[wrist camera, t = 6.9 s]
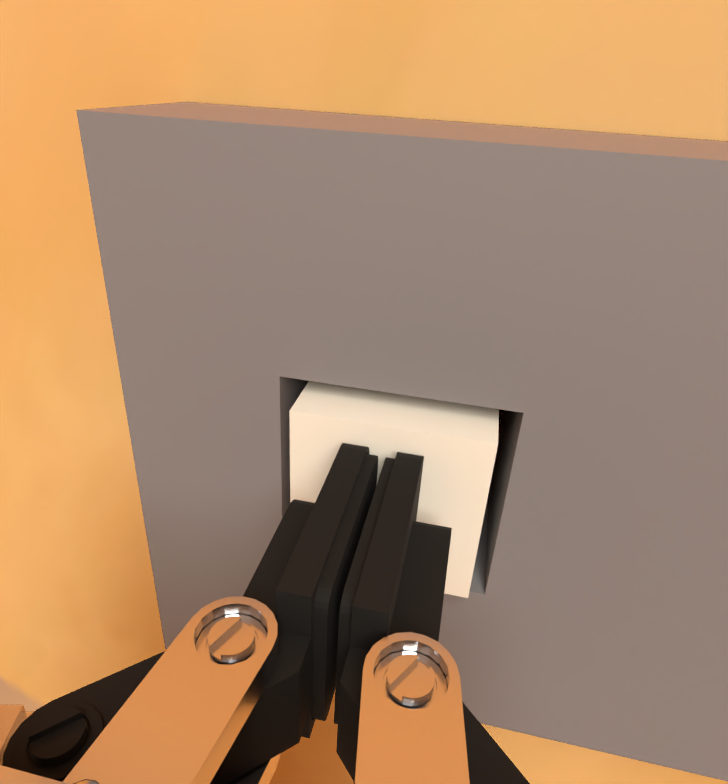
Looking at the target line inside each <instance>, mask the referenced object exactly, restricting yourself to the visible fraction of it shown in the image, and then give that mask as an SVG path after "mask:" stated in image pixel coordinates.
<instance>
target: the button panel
mask: <svg viewBox="0 0 728 784" xmlns="http://www.w3.org/2000/svg"><path fill="white" fill-rule="evenodd" d="M77 116H78V122H79V129H80V135H81V141H82V147H83V153H84V159H85V165H86V171H87V177H88V183H89V189H90V195H91V201H92V207H93V213H94V219H95V225H96V231H97V237H98V243H99V250H100V256H101V262H102V268H103V274H104V280H105V286H106V292H107V298H108V304H109V310H110V316H111V322H112V328H113V334H114V340H115V346H116V352H117V358H118V365H119V371H120V377H121V383H122V389H123V395H124V401H125V407H126V413H127V419H128V425H129V431H130V437H131V443H132V449H133V455H134V461H135V467H136V473H137V479H138V486H139V492H140V498H141V504H142V510H143V516H144V522H145V528H146V534H147V540H148V546H149V552H150V558H151V564H152V570H153V576H154V582H155V588H156V594H157V600H158V607H159V613H160V619H161V625H162V631H163V637H164V643H165V649H168V647H169V646H170V645H171V644H172V642H173V641H174V640H175V639H176V637H177V636H178V635H179V633H180V632H181V631H182V630H183V628H184V627H185V626H186V625H187V623H188V622H189V621H190V619H191V618H192V617H193V616H194V615H195V614H196V613H197V612H198V611H199V610H200V609H201V608H203V607H205V606H206V605H208V604H210V603H212V602H213V601H216V600H219V599H223V598H226V597H237V596H243V595H244V593H245V591H246V589H247V587H248V585H249V583H250V581H251V579H252V577H253V575H254V573H255V571H256V569H257V567H258V565H259V563H260V561H261V559H262V557H263V555H264V553H265V551H266V549H267V547H268V545H269V543H270V541H271V539H272V537H273V535H274V534H275V532H276V530H277V528H278V526H279V524H280V522H281V520H282V518H283V516H284V514H285V512H286V510H287V508H288V506H289V504H290V414H289V411H290V409H291V408H292V406H293V405H294V403H295V402H296V400H297V399H298V397H299V395H300V394H301V392H302V391H303V389H304V388H305V386H306V385H307V383H308V382H309V381H314V382H320V383H327V384H334V385H340V386H347V387H354V388H361V389H367V390H374V391H381V392H387V393H394V394H401V395H407V396H414V397H421V398H427V399H434V400H441V401H447V402H454V403H461V404H467V405H474V406H481V407H487V408H494V409H501V410H505V411H504V417H503V422H502V427H501V432H500V437H499V442H498V447H497V452H496V458H495V463H494V468H493V473H492V478H491V483H490V488H489V493H488V498H487V504H486V509H485V514H484V519H483V524H482V529H481V534H480V539H479V545H478V550H477V555H476V560H475V565H474V570H473V575H472V580H471V585H470V591H469V596H468V598H465V597H460V596H455V595H450V594H445V593H444V599H443V607H442V616H441V624H440V632H439V641H438V642H439V643H440V644H441V645H442V646H443V647H444V648H445V649H447V650H448V651H449V653H450V654H451V656H452V657H453V659H454V660H455V662H456V664H457V667H458V671H459V675H460V682H461V693H462V702H463V703H464V704H465V705H466V707H467V708H468V709H469V710H470V711H471V713H472V714H473V715H474V716H475V718H476V719H477V720H478V721H479V722H480V723H482V724H486V725H491V726H495V727H499V728H503V729H508V730H512V731H516V732H520V733H525V734H529V735H533V736H537V737H542V738H546V739H550V740H554V741H559V742H563V743H567V744H571V745H576V746H580V747H584V748H588V749H593V750H597V751H601V752H605V753H610V754H614V755H618V756H622V757H627V758H631V759H635V760H639V761H644V762H648V763H652V764H656V765H661V766H665V767H669V768H673V769H678V770H682V771H686V772H690V773H695V774H699V775H703V776H707V777H712V778H716V779H720V780H724V781H728V141H714V140H701V139H687V138H673V137H660V136H646V135H632V134H619V133H605V132H591V131H578V130H564V129H550V128H537V127H523V126H509V125H496V124H482V123H468V122H455V121H441V120H427V119H414V118H400V117H386V116H372V115H359V114H345V113H331V112H318V111H304V110H290V109H277V108H263V107H249V106H236V105H222V104H208V103H195V102H177V103H164V104H151V105H137V106H124V107H111V108H97V109H84V110H77ZM335 689H336V687H335Z"/></svg>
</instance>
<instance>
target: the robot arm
mask: <svg viewBox="0 0 728 784" xmlns="http://www.w3.org/2000/svg"><path fill="white" fill-rule="evenodd" d="M369 453H370V451H369V447H365V446H359V445H353V444H347V443H342V444H341V446H340V448H339V450H338V453H337V455H336V457H335V459H334V462H333V464H332V466H331V468H330V471H329V473H328V475H327V477H326V479H325V482H324V484H323V486H322V488H321V491H320V493H319V495H318V497H317V500H316V502H315V503H313V502H307V501H302V500H296V499H294V500H292V501H291V503H290V504H289V506H288V508H287V510H286V512H285V514H284V516H283V518H282V520H281V522H280V524H279V526H278V528H277V530H276V532H275V534H274V535H273V537H272V539H271V541H270V543H269V545H268V547H267V549H266V551H265V553H264V555H263V557H262V559H261V561H260V563H259V565H258V567H257V569H256V571H255V573H254V575H253V577H252V579H251V581H250V583H249V585H248V587H247V589H246V591H245V593H244V595H243V596H237V597H226V598H223V599H219V600H216V601H213V602H212V603H210V604H208V605H206V606H205V607H203V608H201V609H200V610H199V611H198V612H197V613H196V614H195V615H194V616H193V617H192V618H191V619H190V621H189V622H188V623H187V625H186V626H185V627H184V628H183V630H182V631H181V632H180V633H179V635H178V636H177V637H176V639H175V640H174V641H173V642H172V644H171V645H170V646H169V647H168V649H167V650H166V651H164V652H162V653H160V654H157V655H155V656H153V657H151V658H148V659H146V660H144V661H142V662H139V663H137V664H135V665H133V666H130V667H128V668H126V669H123V670H121V671H119V672H117V673H114V674H112V675H110V676H108V677H105V678H103V679H101V680H99V681H96V682H94V683H92V684H89V685H87V686H85V687H83V688H80V689H78V690H76V691H74V692H71V693H69V694H67V695H64V696H62V697H60V698H58V699H55V700H53V701H51V702H49V703H48V704H46V705H44V706H42V707H41V708H39V709H37V710H36V711H30V712H29V711H27V712H26V711H25V709H24V706H23V705H0V784H269V783H270V781H271V779H272V777H273V775H274V772H275V770H276V768H277V765H278V762H279V759H280V756H281V753H282V752H284V751H285V750H287V749H289V748H290V747H292V746H294V745H296V744H297V743H299V741H300V738H301V736H302V737H306V738H310V735H311V732H312V728H313V725H314V722H315V719H318V720H322V721H325V720H326V718H327V715H328V712H329V709H330V705H331V702H332V698H333V694H334V691H335V687H336V691H335V713H334V723H335V724H338V733H337V753H338V755H339V757H340V759H341V760H342V762H343V764H344V765H345V767H346V769H347V771H348V772H349V774H350V776H351V777H352V779H353V781H354V784H530V783H529V782H528V781H527V780H526V779H525V777H524V776H523V775H522V774H521V772H520V771H519V770H518V769H517V768H516V766H515V765H514V764H513V763H512V761H511V760H510V759H509V758H508V757H507V755H506V754H505V753H504V752H503V751H502V749H501V748H500V747H499V746H498V744H497V743H496V742H495V741H494V740H493V738H492V737H491V736H490V735H489V733H488V732H487V731H486V730H485V729H484V727H483V726H482V725H481V724H480V722H479V721H478V720H477V719H476V718H475V716H474V715H473V714H472V713H471V711H470V710H469V709H468V708H467V707H466V705H465V704H464V703H463V702H462V693H461V682H460V675H459V671H458V667H457V664H456V662H455V660H454V659H453V657H452V656H451V654H450V653H449V651H448V650H447V649H445V648H444V647H443V646H442V645H441V644H440V643H439V642H438V641H439V632H440V624H441V616H442V607H443V599H444V591H445V582H446V574H447V566H448V557H449V549H450V540H451V532H452V528H450V527H444V526H439V525H433V524H428V523H422V522H417V521H416V519H417V510H418V502H419V494H420V486H421V478H422V470H423V462H424V456H420V455H414V454H408V453H402V452H397V454H396V457H395V459H394V458H388V457H386V458H385V461H384V464H383V467H382V470H381V473H380V476H379V479H378V483H377V471H378V456H376V455H370V454H369ZM376 483H377V486H376Z"/></svg>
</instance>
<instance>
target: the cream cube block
mask: <svg viewBox="0 0 728 784" xmlns="http://www.w3.org/2000/svg"><path fill="white" fill-rule="evenodd" d="M289 414H290V503H291V501H292V500H294V499H296V500H302V501H307V502H313V503H315V502H316V500H317V497H318V495H319V493H320V491H321V488H322V486H323V484H324V482H325V479H326V477H327V475H328V473H329V471H330V468H331V466H332V464H333V462H334V459H335V457H336V455H337V453H338V450H339V448H340V446H341V444H342V443H347V444H353V445H359V446H365V447H369V451H370V453H369V454H370V455H376V456H378V471H377V483H378V479H379V476H380V473H381V470H382V467H383V464H384V461H385V458H386V457H388V458H394V459H395V457H396V454H397V452H402V453H408V454H414V455H420V456H424V462H423V470H422V478H421V486H420V494H419V502H418V510H417V519H416V521H417V522H422V523H428V524H433V525H439V526H444V527H450V528H452V532H451V540H450V549H449V557H448V566H447V574H446V582H445V591H444V593H445V594H450V595H455V596H460V597H465V598H468V596H469V591H470V585H471V580H472V575H473V570H474V565H475V560H476V555H477V550H478V545H479V539H480V534H481V529H482V524H483V519H484V514H485V509H486V504H487V498H488V493H489V488H490V483H491V478H492V473H493V468H494V463H495V458H496V452H497V447H498V430H499V409H494V408H487V407H481V406H474V405H467V404H461V403H454V402H447V401H441V400H434V399H427V398H421V397H414V396H407V395H401V394H394V393H387V392H381V391H374V390H367V389H361V388H354V387H347V386H340V385H334V384H327V383H320V382H314V381H309V382H308V383H307V385H306V386H305V388H304V389H303V391H302V392H301V394H300V395H299V397H298V399H297V400H296V402H295V403H294V405H293V406H292V408H291V409H290V411H289ZM377 483H376V486H377Z"/></svg>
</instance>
